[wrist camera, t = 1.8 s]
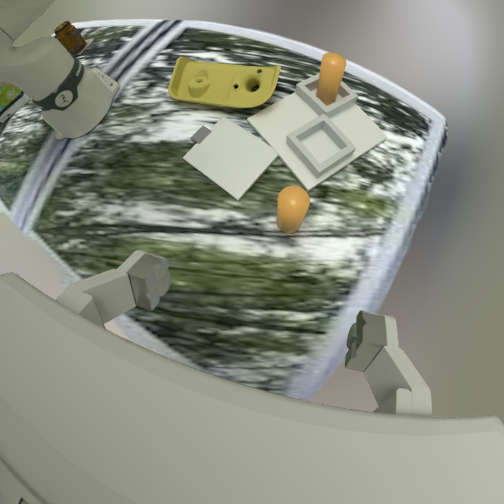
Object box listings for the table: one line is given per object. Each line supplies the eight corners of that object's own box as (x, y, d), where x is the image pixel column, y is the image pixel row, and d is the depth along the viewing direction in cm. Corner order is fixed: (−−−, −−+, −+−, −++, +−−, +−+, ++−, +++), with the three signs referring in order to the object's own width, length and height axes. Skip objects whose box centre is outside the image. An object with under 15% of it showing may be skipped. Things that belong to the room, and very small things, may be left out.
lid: (178, 155, 43) (176, 153, 42) (218, 115, 43) (216, 112, 42) (238, 201, 41) (237, 199, 40) (279, 155, 41) (279, 152, 40)
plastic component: (165, 97, 42) (180, 51, 39) (185, 105, 49) (198, 62, 46) (267, 113, 39) (283, 59, 35) (277, 121, 45) (291, 74, 42)
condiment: (78, 41, 53) (62, 20, 41) (94, 38, 52) (77, 15, 40) (65, 57, 52) (47, 36, 40) (80, 54, 51) (61, 31, 39)
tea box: (2, 124, 52) (-24, 107, 37) (8, 104, 53) (-16, 86, 38) (29, 101, 51) (2, 79, 36) (36, 81, 52) (11, 59, 38)
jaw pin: (272, 218, 40) (271, 197, 30) (291, 205, 40) (296, 179, 30) (286, 238, 40) (290, 222, 30) (306, 224, 40) (316, 204, 30)
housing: (247, 121, 43) (239, 80, 32) (325, 80, 43) (334, 39, 32) (307, 192, 40) (318, 161, 29) (385, 139, 40) (409, 105, 30)
